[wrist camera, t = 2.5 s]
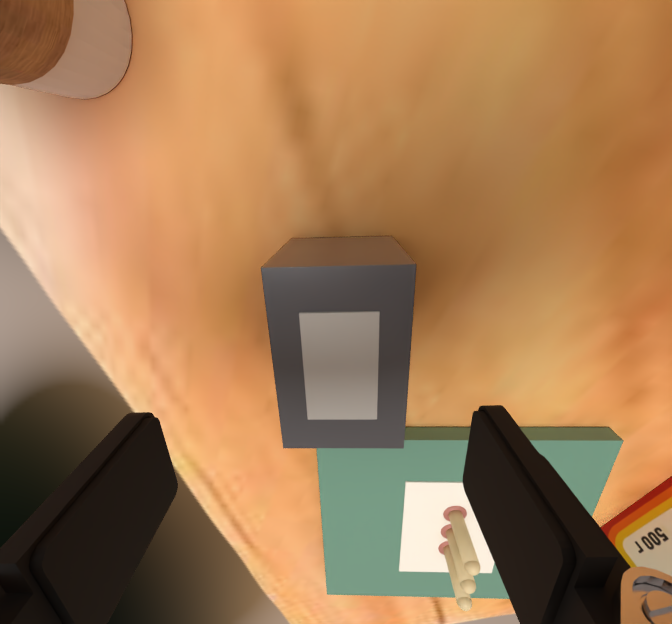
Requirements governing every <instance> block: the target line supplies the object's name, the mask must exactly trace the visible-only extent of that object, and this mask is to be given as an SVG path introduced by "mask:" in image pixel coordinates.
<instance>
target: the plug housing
mask: <svg viewBox="0 0 672 624" xmlns="http://www.w3.org/2000/svg"><path fill="white" fill-rule="evenodd" d="M261 272H262V280H263V288H264V296H265V304H266V312H267V320H268V328H269V336H270V344H271V352H272V360H273V368H274V376H275V384H276V392H277V400H278V408H279V416H280V424H281V432H282V440H283V448H385V449H404V438H405V423H406V409H407V394H408V380H409V365H410V350H411V336H412V321H413V307H414V292H415V278H416V263H415V262H414V261H413V260H412V259H411V257H410V256H409V255H408V254H407V253H406V252H405V250H404V249H403V248H402V247H401V246H400V245H399V244H398V242H397V241H396V240H395V239H394V238H393V237H392V236H365V237H326V238H291V239H290V240H289V241H288V242H287V243H286V244H285V245H284V246H283V247H282V248H281V249H280V250H279V251H278V252H277V253H276V254H275V255H274V256H273V257H271V258H270V259H269V260H268V261H267V262H266V263H265V264H264V265H263V266H262V267H261Z"/></svg>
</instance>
